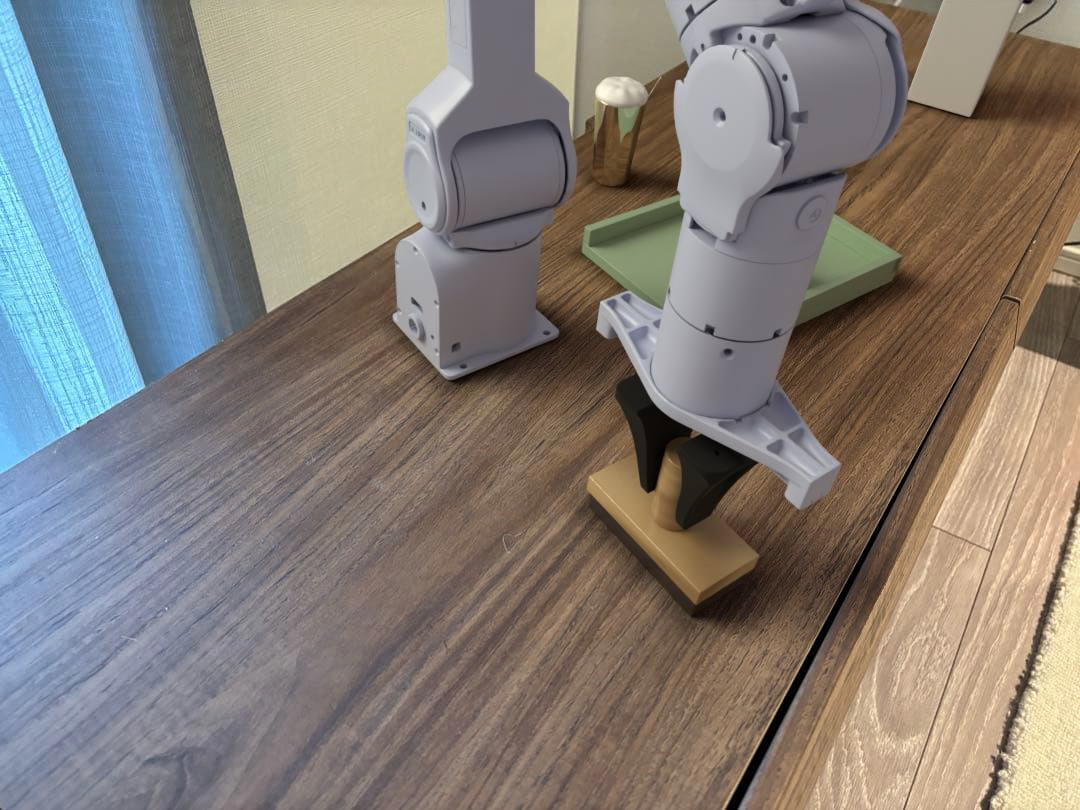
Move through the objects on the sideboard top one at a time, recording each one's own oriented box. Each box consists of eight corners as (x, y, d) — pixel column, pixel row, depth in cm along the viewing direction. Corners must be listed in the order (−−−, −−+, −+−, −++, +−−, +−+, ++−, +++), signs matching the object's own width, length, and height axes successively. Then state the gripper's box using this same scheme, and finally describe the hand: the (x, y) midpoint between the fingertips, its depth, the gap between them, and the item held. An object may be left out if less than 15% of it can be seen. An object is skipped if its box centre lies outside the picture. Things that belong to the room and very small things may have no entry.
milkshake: (640, 195, 79) (658, 87, 72) (581, 185, 79) (594, 77, 72) (645, 171, 82) (664, 66, 75) (589, 162, 82) (602, 56, 75)
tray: (717, 363, 62) (725, 337, 61) (581, 252, 71) (584, 226, 70) (892, 281, 72) (903, 255, 70) (752, 191, 81) (759, 167, 79)
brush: (690, 621, 47) (721, 532, 41) (583, 505, 52) (598, 413, 47) (747, 584, 49) (784, 495, 44) (639, 476, 54) (660, 385, 49)
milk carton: (969, 119, 96) (1053, -72, 82) (904, 100, 98) (976, -88, 85) (980, 96, 100) (1061, -88, 87) (918, 79, 102) (988, -103, 89)
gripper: (924, 364, 36) (825, 560, 46) (687, 200, 44) (645, 395, 54) (809, 428, 33) (729, 624, 42) (576, 239, 41) (552, 439, 50)
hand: (675, 500), depth 48 cm, fingers closed on brush, 2 cm apart
